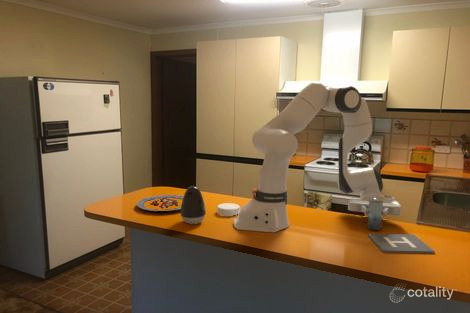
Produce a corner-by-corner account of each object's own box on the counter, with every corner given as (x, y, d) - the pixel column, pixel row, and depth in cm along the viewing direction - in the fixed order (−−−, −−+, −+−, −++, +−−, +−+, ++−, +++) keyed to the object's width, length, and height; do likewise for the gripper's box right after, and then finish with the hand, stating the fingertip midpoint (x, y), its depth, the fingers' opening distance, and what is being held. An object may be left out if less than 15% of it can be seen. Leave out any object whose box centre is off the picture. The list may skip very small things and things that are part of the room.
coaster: (229, 218, 154) (229, 210, 153) (212, 213, 160) (212, 206, 160) (244, 213, 162) (244, 205, 161) (227, 208, 168) (227, 201, 167)
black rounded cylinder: (176, 225, 145) (175, 188, 143) (187, 217, 155) (186, 182, 152) (199, 228, 142) (199, 190, 140) (209, 219, 152) (209, 184, 149)
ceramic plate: (125, 207, 168) (125, 201, 167) (167, 196, 188) (167, 190, 188) (163, 219, 153) (163, 212, 152) (204, 205, 173) (204, 199, 172)
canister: (369, 230, 140) (372, 199, 138) (365, 225, 144) (367, 196, 143) (382, 230, 139) (385, 200, 138) (378, 225, 144) (380, 196, 142)
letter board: (383, 252, 120) (383, 250, 120) (367, 235, 135) (367, 233, 135) (434, 253, 120) (434, 251, 120) (413, 236, 135) (413, 234, 135)
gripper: (347, 193, 156) (347, 202, 142) (398, 197, 150) (404, 207, 137) (346, 207, 157) (346, 217, 143) (397, 212, 151) (402, 223, 138)
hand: (375, 212), depth 140 cm, fingers closed on canister, 5 cm apart
